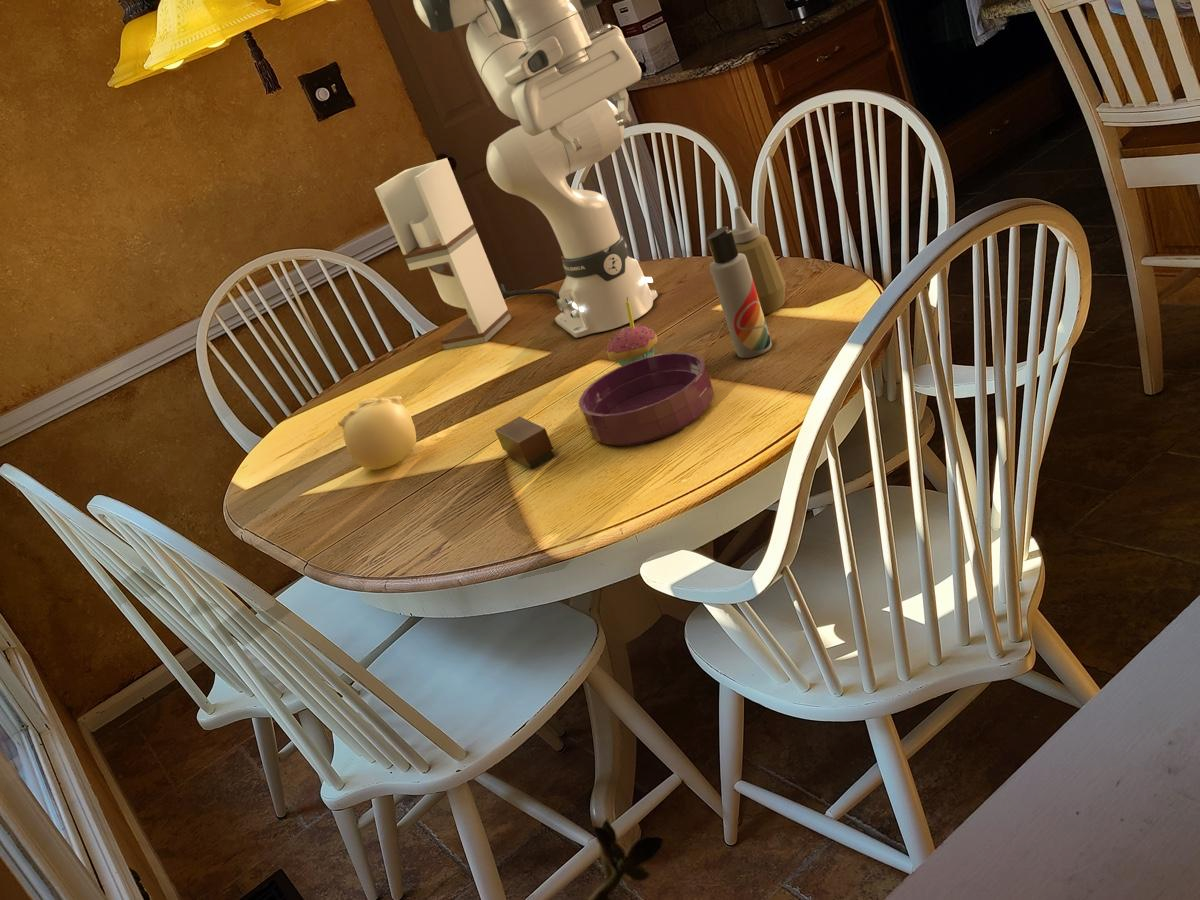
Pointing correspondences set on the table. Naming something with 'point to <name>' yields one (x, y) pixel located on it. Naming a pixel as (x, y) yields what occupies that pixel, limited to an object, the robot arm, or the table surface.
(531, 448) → the dark chocolate square
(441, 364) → the table surface
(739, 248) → the squeeze bottle
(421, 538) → the table surface
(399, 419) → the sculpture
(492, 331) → the cream shelf stand
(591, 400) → the bowl
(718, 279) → the lotion bottle
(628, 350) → the cupcake
